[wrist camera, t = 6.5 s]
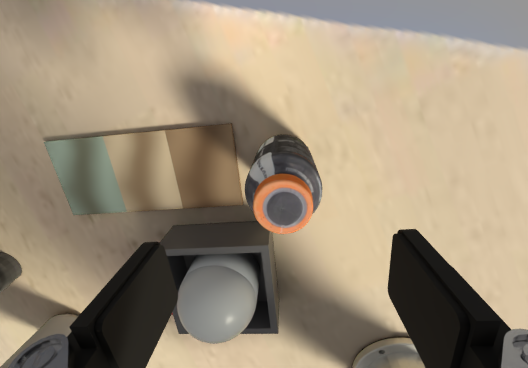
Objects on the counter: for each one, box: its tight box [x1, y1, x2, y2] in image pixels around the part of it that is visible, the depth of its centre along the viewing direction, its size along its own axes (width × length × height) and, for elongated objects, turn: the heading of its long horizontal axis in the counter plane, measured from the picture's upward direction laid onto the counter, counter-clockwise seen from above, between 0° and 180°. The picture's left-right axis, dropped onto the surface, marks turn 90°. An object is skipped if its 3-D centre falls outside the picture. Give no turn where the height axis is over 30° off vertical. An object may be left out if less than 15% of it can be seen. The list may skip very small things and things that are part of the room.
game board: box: [44, 123, 243, 215], centre depth 28 cm, size 21×9×1 cm, turn 96°
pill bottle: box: [245, 135, 322, 234], centre depth 21 cm, size 6×6×11 cm
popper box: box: [160, 221, 279, 334], centre depth 30 cm, size 16×12×5 cm
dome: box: [177, 253, 260, 344], centre depth 27 cm, size 8×8×8 cm
